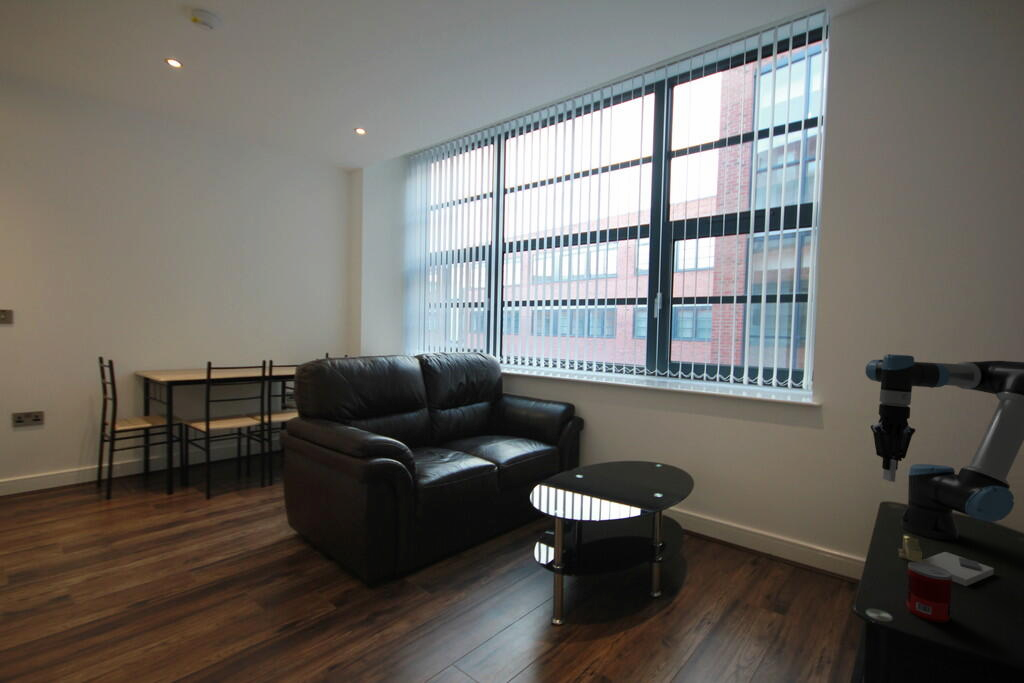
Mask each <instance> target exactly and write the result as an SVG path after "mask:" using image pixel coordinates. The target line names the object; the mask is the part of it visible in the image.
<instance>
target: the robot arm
mask: <svg viewBox="0 0 1024 683" xmlns="http://www.w3.org/2000/svg"><path fill="white" fill-rule="evenodd" d="M865 375H866V377H867V378H868V379H870V380H871V381H874V382H878V383H880V392H879V402H880V404H878V415H879V416H880V417H879V419H878V423H876V424H875V425H874V424H871V425H870V429H871V431H872V434H873V440H874V447H875V454H876V456H878V457H880V458H882V465H881V468H882V470H883V473H882V474H883V476H882V480H884V481H888V482H891V483H893V482H894V483H895V482H896V471H897V470H898V469H899V468H898V467H899V466H898V465H899V462H902V461H903V459H906V456H907V453H908V450H909V446H910V443H911V441H912V436H913V435H914V434H915V433H916V428H913V427H911V426H909V422H908V419H910V416H911V407H910V406H911V402H912V391H913V387H922V388H931V389H933V388H942V387H944V386H953V387H955V386H956V387H957V388H959V389H963V390H972V391H977V392H983V393H986V394H987V393H989V394H992V395H995V397H996V398H997V399H998V400H999V403H998V404H997V407H996V409H995V411H994V414H993V415H992V418H991V420H990V422H989V424H988V425H987V428H986V430H985V432H984V434H983V435H982V436H983V437H982V438H981V440H980V443H979V445H978V446H977V449H976V451H975V453H974V456H973V457H972V460H971V461H970V464H969V465H967V466H963V467H961V468H960V470H959V471H958V474H957V473H956V471H955V468H954V467H951V466H947V465H939V464H929V463H928V464H927V463H925V464H924V463H918V464H917V463H916V464H912V465H911V466H910V468H909V473H908V491H907V492H908V494H907V497H908V499H907V501H908V502H907V506H906V508H905V510H904V512H903V514H902V516H901V518H900V526H901V527H902V528H903V529H904V530H906V531H908V532H911V533H912V534H915V535H919V536H923V537H925V538H931V539H935V540H943V541H956V540H958V539H959V536H960V534H959V529H958V526H957V523H956V520H955V518H954V514H953V511H956V512H958V513H960V514H963V515H966V516H968V517H971V518H972V519H977V520H981V521H984V522H989V523H990V522H998V521H1001V520H1003V519H1006V517H1008V516H1009V515H1010V514H1011V512H1012V511H1013V509H1014V506H1015V501H1014V499H1015V497H1014V495H1013V494H1014V493H1012V492H1011V490H1010V486H1011V485H1010V483H1009V482H1008V480H1007V478H1008V475H1009V472H1010V470H1011V468H1012V465H1013V463H1014V461H1015V460H1016V459H1017V455H1018V453H1019V451H1020V449H1021V447H1022V445H1023V442H1024V361H1010V360H1008V361H1007V360H988V361H987V360H985V361H984V360H983V361H982V360H981V361H961V362H958V363H945V362H944V363H943V362H927V361H925V362H924V361H915V357H914V356H913V355H909V354H908V355H907V354H906V355H905V354H890V353H889V354H885V355H884V356H883V358H882V359H872V360H870V361H869V362H868V363H867V364H866V366H865Z"/></svg>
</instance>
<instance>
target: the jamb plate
mask: <svg viewBox="0 0 1024 683" xmlns="http://www.w3.org/2000/svg"><path fill="white" fill-rule="evenodd" d="M898 555H899V558H901V559H904V560H908V558H907V555H906V554H905V553H903V548H898Z"/></svg>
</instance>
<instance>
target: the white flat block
mask: <svg viewBox="0 0 1024 683" xmlns="http://www.w3.org/2000/svg"><path fill="white" fill-rule="evenodd" d="M922 562H923V563H928V564H932V565H935V566H938V567H941V568H943V569H945V570H947V571H949V572H950V573H951V574H952V582H954V583H957V584H959V585H961V586H965V587H968V586H971V585H973V584H974V583H977V582H979V581H981V580H984V579H986V578H988V577H989V578H990V577H991V576H993V575H994V571H995V570H994V568H995V567H994V568H993V567H991V566H988V565H985V564H983V563H979V562H978V561H976V560H971V559H967V558H965V557H962V556H959V555H956V554H954V553H953V554H952V553H950V552H947V551H943V552H940V553H937V554H935V555H931V556H929V557H926V558H924V559H923V558H922Z"/></svg>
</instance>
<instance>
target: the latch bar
mask: <svg viewBox="0 0 1024 683" xmlns="http://www.w3.org/2000/svg"><path fill="white" fill-rule="evenodd" d="M902 549H903V553H905V554H906V555H907V558H908V559H907V560H908V561H911V562H922V560H923V551H922V549H921V546H920V544H919V537H917V536H915V535H912V534H903V535H902Z"/></svg>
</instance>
